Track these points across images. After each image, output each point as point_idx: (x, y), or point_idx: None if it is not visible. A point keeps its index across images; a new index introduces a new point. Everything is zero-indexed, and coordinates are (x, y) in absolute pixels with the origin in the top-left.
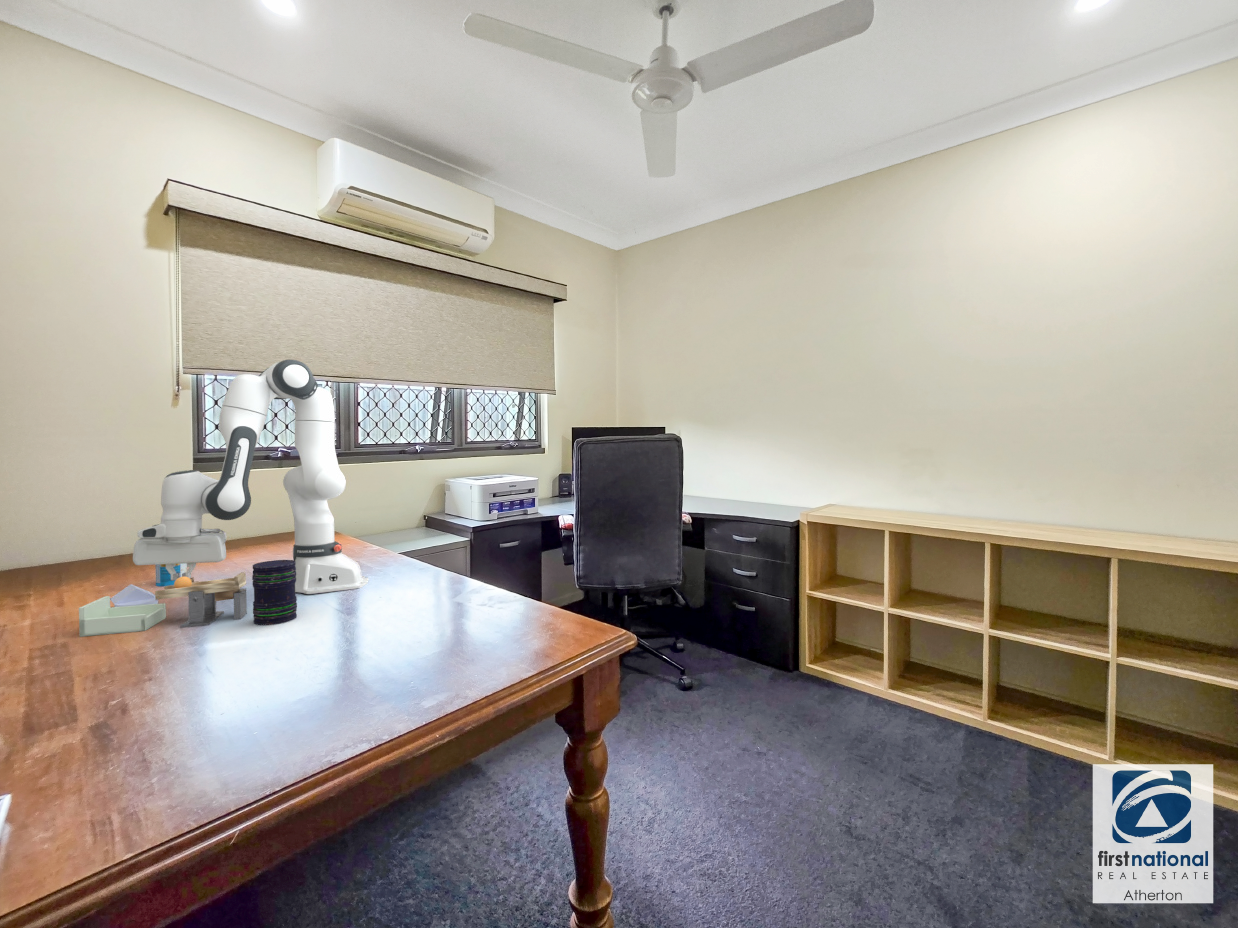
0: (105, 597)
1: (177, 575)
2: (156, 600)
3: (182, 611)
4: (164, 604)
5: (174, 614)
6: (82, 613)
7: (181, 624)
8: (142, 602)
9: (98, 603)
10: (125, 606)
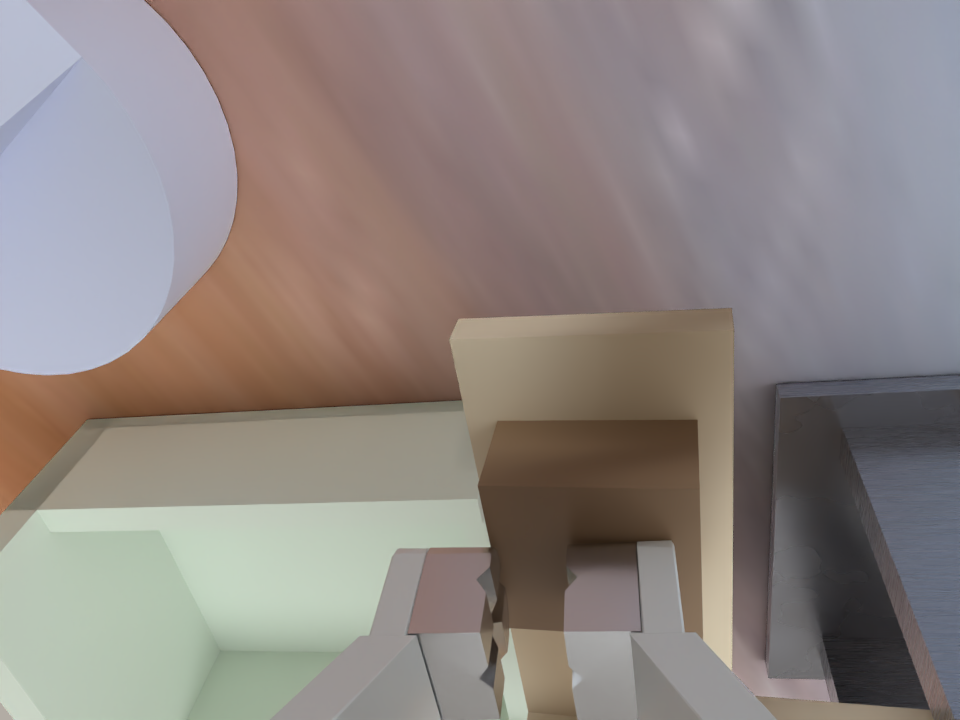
0: None
1: (500, 679)
2: (167, 172)
3: (529, 192)
4: (481, 509)
5: (509, 295)
6: None
7: (769, 663)
8: (113, 293)
9: (68, 710)
10: (153, 513)
